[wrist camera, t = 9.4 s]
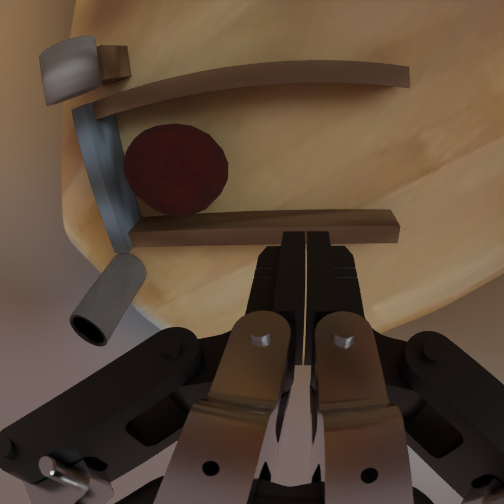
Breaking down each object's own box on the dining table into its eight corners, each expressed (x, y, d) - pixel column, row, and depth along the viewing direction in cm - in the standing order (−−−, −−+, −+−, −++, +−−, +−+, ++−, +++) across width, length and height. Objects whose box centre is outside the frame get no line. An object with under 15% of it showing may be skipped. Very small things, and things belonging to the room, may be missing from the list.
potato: (150, 109, 21) (104, 125, 16) (244, 129, 22) (225, 151, 16) (141, 183, 26) (102, 218, 20) (224, 206, 26) (203, 250, 20)
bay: (90, 56, 18) (24, 64, 12) (389, 12, 14) (433, -13, 7) (133, 231, 29) (92, 281, 22) (388, 225, 24) (416, 285, 18)
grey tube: (148, 260, 31) (105, 328, 23) (145, 287, 34) (108, 352, 25) (114, 246, 31) (65, 308, 22) (113, 274, 33) (72, 334, 25)
